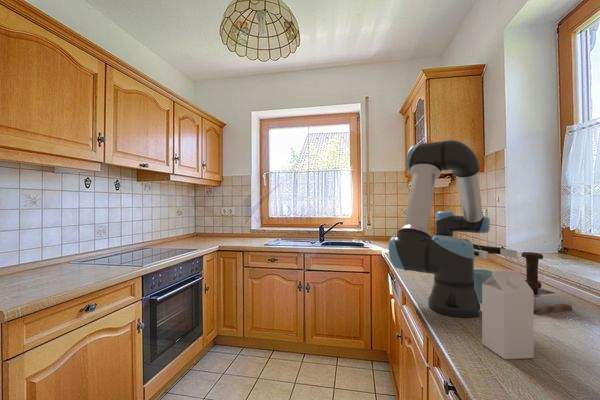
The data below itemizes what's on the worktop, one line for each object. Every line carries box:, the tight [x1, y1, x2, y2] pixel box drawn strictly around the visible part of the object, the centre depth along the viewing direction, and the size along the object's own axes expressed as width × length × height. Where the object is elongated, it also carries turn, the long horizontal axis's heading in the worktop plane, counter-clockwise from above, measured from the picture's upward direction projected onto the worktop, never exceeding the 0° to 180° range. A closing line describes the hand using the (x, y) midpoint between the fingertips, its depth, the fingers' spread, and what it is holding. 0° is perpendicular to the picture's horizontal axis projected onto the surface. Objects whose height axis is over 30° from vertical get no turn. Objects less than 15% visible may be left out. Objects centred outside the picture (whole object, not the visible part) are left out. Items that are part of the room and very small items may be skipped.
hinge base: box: [534, 287, 573, 315], centre depth 100 cm, size 15×14×5 cm
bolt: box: [521, 251, 544, 295], centre depth 100 cm, size 6×5×15 cm
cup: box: [474, 268, 493, 304], centre depth 104 cm, size 8×8×10 cm
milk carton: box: [481, 269, 535, 360], centre depth 69 cm, size 7×7×19 cm
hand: (502, 254), depth 112 cm, fingers open, 13 cm apart
